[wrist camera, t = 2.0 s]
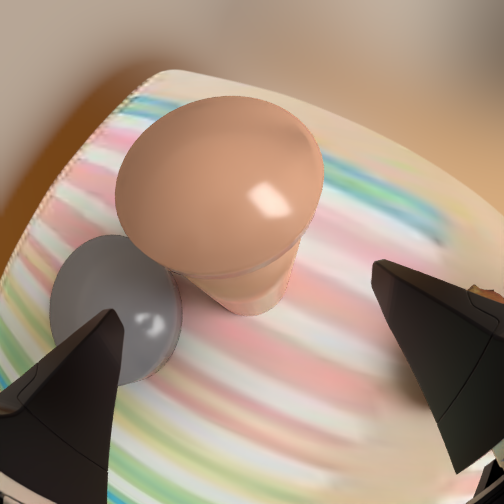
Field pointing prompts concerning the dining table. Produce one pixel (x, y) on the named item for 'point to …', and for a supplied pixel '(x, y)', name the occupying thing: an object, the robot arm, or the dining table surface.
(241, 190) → the tan cylindrical canister
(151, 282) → the round gray base plate
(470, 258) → the dining table surface
